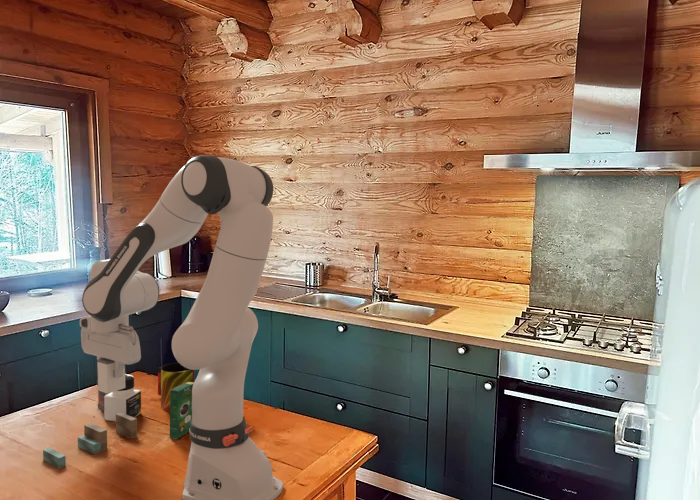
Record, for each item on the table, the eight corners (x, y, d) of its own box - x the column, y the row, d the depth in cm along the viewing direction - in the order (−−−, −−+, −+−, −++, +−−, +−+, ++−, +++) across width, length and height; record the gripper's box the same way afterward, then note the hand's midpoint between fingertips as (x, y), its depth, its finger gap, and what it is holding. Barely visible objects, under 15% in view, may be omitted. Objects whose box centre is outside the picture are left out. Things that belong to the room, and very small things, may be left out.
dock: (137, 437, 140) (136, 418, 140) (59, 468, 123) (58, 447, 123) (120, 430, 144) (120, 412, 144) (43, 459, 127) (42, 439, 126)
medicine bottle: (126, 423, 149) (126, 381, 148) (104, 420, 150) (103, 379, 149) (141, 413, 156) (141, 373, 155) (119, 410, 157) (119, 371, 156)
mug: (159, 397, 169) (159, 360, 168) (199, 401, 166) (200, 363, 165) (141, 408, 159) (141, 369, 158) (184, 413, 157) (184, 373, 156)
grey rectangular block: (125, 387, 138) (124, 357, 137) (107, 393, 133) (106, 362, 133) (116, 384, 140) (115, 355, 139) (98, 390, 136) (97, 359, 135)
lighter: (94, 406, 159) (94, 374, 159) (105, 403, 162) (105, 371, 161) (110, 413, 155) (109, 380, 154) (120, 410, 158) (120, 377, 157)
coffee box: (187, 426, 148) (187, 380, 147) (196, 427, 147) (196, 381, 146) (168, 438, 140) (168, 389, 139) (178, 439, 139) (178, 391, 138)
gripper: (146, 324, 132) (147, 379, 133) (98, 315, 143) (99, 365, 144) (123, 329, 127) (125, 386, 128) (75, 319, 138) (77, 371, 139)
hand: (111, 375), depth 136 cm, fingers closed on grey rectangular block, 4 cm apart
